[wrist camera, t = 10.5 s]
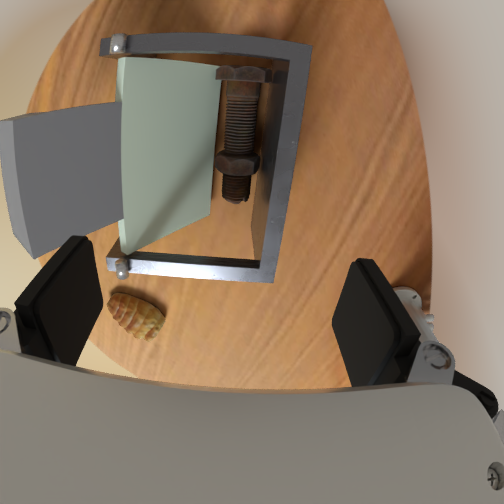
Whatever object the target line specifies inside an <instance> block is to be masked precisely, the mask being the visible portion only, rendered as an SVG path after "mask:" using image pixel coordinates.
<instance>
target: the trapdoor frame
mask: <svg viewBox="0 0 504 504" xmlns="http://www.w3.org/2000/svg"><path fill="white" fill-rule="evenodd" d="M157 53H206V54H224V55H237V56H248V57H257V58H265V59H273V60H272V67H271V71H272V83H269V90H268V98H267V105H266V113H265V120H264V128H263V136H262V143H261V151H260V157H261V158H260V167H259V169H258V174H257V182H256V190H255V198H254V205H253V213H252V221H251V231H252V240H253V248H254V257H255V260H250V259H236V258H221V257H207V256H194V255H180V254H167V253H153V252H140V251H134V252H133V253H131V254H129V255H126V254H125V253H123V252H121V245H120V236H119V238H118V239H117V241H116V242H115V244H114V245H113V247H112V249H111V250H110V252H109V253H108V255H107V256H106V261H107V267H108V271H116V274H117V278H118V279H126V278H128V277H129V273H140V274H151V275H163V276H175V277H188V278H201V279H215V280H230V281H246V282H262V283H273V282H274V277H275V272H276V266H277V261H278V256H279V250H280V245H281V240H282V234H283V229H284V223H285V218H286V212H287V206H288V201H289V195H290V189H291V183H292V177H293V171H294V165H295V159H296V153H297V147H298V141H299V135H300V128H301V122H302V115H303V109H304V102H305V96H306V89H307V82H308V75H309V68H310V61H311V53H312V46H311V45H307V44H302V43H296V42H291V41H285V40H278V39H271V38H264V37H256V36H247V35H235V34H221V33H153V34H138V35H128V36H127V34H113V35H112V36H111V38H104V39H101V45H100V54H99V56H102V57H107V58H113V59H118V58H123V57H139V58H155V59H156V54H157Z"/></svg>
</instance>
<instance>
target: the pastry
mask: <svg viewBox="0 0 504 504" xmlns="http://www.w3.org/2000/svg"><path fill="white" fill-rule="evenodd" d="M107 307H108V309H109V311H110V313H111V314H112V315H113V318H114V319H115V320H117V321H118V323H119V325H120V326H122V327H124V329H125V330H126V331H127V333H132V334H133V335H134V337H135V338H137V339H140V338H143V339H144V340H146V341H147V342H150V341H152V340H153V339H154V338H155V337H156V336H157V333H159V331H160V329H161V328H162V326H163V324H164V323H165V318H164V316H163V315H162V314H161V312H160V311H159V309H158V308H155V307H154V306H153V305H152V304H150V303H148V302H146V301H143V300H141V299H139V298H136V297H134V296H132V295H129V294H126V293H115V294H113V295H112V296H111V298H110V300H109V301H108V303H107Z"/></svg>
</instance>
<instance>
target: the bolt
mask: <svg viewBox="0 0 504 504" xmlns="http://www.w3.org/2000/svg"><path fill="white" fill-rule="evenodd" d="M215 79H216V80H227V91H226V95H227V100H228V101H227V103H228V104H226V105H227V106H228V107H226V108H227V109H228V110H226V112H228V113H226V115H228V116H226V118H227V119H226V120H225V121H227V122H226V123H225V124H227V125H226V126H225V127H226V129H225V130H226V131H225V133H226V134H225V138H224V139H225V141H224V142H225V144H224V145H225V147H224V148H225V149H224V150H223V151H220V152H219V153H218V154H217V155H216V157H215V167H216V168H217V170H218V171H220V172H221V173H223V179H222V180H223V182H222V183H223V184H222V186H223V187H222V197H223V198H225V200H227V201H228V202H231V203H233V204H239V203H240V202H241V201H245V202H246V201H248V198H249V195H250V186H251V175H253V174H255V173H256V172H257V171H258V169H259V167H260V158H261V157H260V156H259V155H258V154H257V153H255V152H253V151H254V150H253V148H254V147H253V146H254V144H253V143H254V139H255V138H254V136H255V135H254V134H255V130H256V129H255V127H256V126H255V124H256V115H257V114H256V112H257V111H256V109H257V107H256V106H257V104H256V103H258V101H257V100H258V98H259V95H260V85H261V82H262V83H272V71H271V70H270V69H268V68H261V67H252V66H234V65H224V66H220V67H218V68H217V69H216V77H215Z"/></svg>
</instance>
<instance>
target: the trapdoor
mask: <svg viewBox="0 0 504 504" xmlns="http://www.w3.org/2000/svg"><path fill="white" fill-rule="evenodd" d="M218 67H220V66H215V65H208V64H202V63H194V62H186V61H177V60H167V59H155V58H139V57H123V58H118V69H117V81H116V97H115V102H111V103H102V104H93V105H86V106H79V107H72V108H66V109H61V110H55V111H50V112H39V113H29V114H24V115H20V116H16V117H12V118H8V119H4V120H1V121H0V159H1V167H2V176H3V183H4V189H5V195H6V201H7V206H8V212H9V216H10V221H11V226H12V230H13V234H14V235H15V237H16V238H17V239H18V240H19V242H20V243H21V244H22V246H23V247H24V248H25V249H26V250H27V252H28V253H29V254H30V255H31V257H32V258H33V259H36V258H38V257H40V256H42V255H44V254H46V253H48V252H50V251H52V250H54V249H56V248H58V247H61V246H62V245H63V244H64V243H65V242H66V241H67V240H68V239H69V238H70V237H71V236H72V235H78V236H85V235H87V234H89V233H91V232H94V231H96V230H98V229H101V228H103V227H105V226H108V225H110V224H112V223H115V222H117V221H118V226H119V236H120V245H121V252H123V253H125V254H126V255H129V254H131V253H133V252H134V251H136V250H138V249H140V248H142V247H144V246H146V245H148V244H150V243H152V242H154V241H156V240H158V239H160V238H162V237H165V236H167V235H169V234H171V233H173V232H175V231H177V230H179V229H181V228H183V227H185V226H187V225H189V224H191V223H194V222H196V221H198V220H200V219H202V218H204V217H206V216H209V215H210V204H211V189H212V175H213V162H214V150H215V138H216V128H217V117H218V107H219V98H220V88H221V80H216V79H215V77H216V69H217V68H218Z"/></svg>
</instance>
